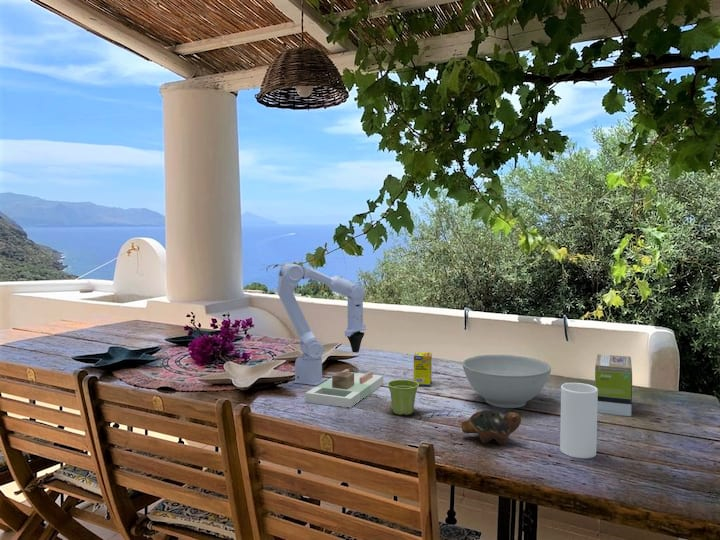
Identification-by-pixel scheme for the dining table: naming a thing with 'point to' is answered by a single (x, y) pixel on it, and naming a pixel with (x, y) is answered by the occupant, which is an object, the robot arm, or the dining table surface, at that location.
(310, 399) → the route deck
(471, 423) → the decorative turtle
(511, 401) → the decorative bowl
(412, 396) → the plant pot
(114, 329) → the dining table surface
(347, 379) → the walnut block
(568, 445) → the cup
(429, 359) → the supplement box
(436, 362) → the dining table surface
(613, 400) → the tea box
